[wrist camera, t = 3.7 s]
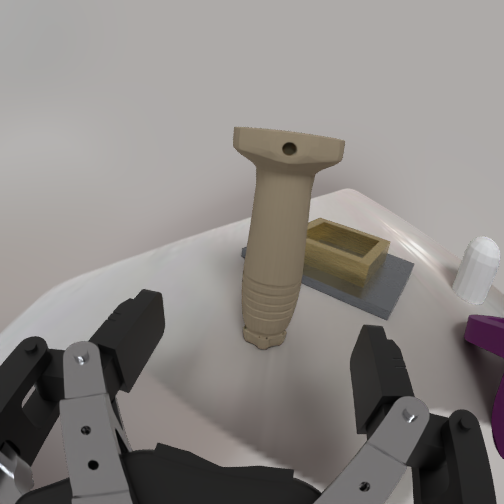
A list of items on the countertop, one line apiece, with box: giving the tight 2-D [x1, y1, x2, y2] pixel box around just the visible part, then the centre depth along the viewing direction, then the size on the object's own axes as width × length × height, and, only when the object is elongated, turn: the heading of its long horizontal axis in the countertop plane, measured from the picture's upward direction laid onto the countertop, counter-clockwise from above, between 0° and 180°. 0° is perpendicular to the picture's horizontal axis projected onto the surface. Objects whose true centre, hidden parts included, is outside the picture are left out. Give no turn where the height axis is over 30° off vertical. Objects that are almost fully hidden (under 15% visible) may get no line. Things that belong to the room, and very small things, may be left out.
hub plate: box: [242, 218, 414, 320], centre depth 34 cm, size 18×14×4 cm
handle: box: [233, 127, 345, 349], centre depth 19 cm, size 5×6×15 cm
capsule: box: [452, 236, 500, 305], centre depth 29 cm, size 5×5×8 cm
